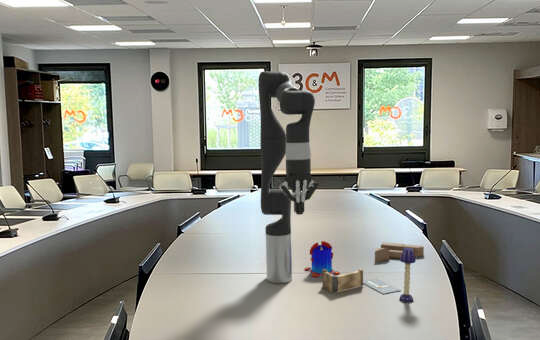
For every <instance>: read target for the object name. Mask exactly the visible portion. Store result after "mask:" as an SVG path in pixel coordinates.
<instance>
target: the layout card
mask: <svg viewBox="0 0 540 340" xmlns="http://www.w3.org/2000/svg"><path fill="white" fill-rule="evenodd" d="M363 285H365V286H367V287H369V288H371V289H372V290H375V291H376V292H378V293H380V294H382V295H386V294H391V293H392V294H394V293H397V292H401V291H402V290H401V289H400V288H397V287H396V286H393V285H391V284H390V283H388V282H385V281H383V280H381V279H379V278H377V277H373V278H368V279H363Z"/></svg>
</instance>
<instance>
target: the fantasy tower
mask: <svg viewBox="0 0 540 340" xmlns="http://www.w3.org/2000/svg"><path fill="white" fill-rule="evenodd" d="M320 243H321V244H319V242H315V243H314V244H312V245H311V247H310V249H309V255H310V256H311V258H310V260H311V267H305V268H304V269H303V271H304V270H305V271H304V272H308V273H309V272H310V273H311V274H310V273H309V274H310V275H311V278H315V279H317V278H320V277H322V270H323V269H327V272H329V273H331V274H332V275H334V276H338V275H341V272H340V271H337V270H336V271H334V269H333V263H332V262H333V261H332V260H333V257H334V252H333V251H332V250H333V246H332V245H331V243H330V242H328V241H323V240H322V241H321V242H320ZM310 269H311V270H310Z"/></svg>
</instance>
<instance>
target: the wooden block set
mask: <svg viewBox="0 0 540 340" xmlns="http://www.w3.org/2000/svg"><path fill="white" fill-rule="evenodd" d="M404 248H412V249H413V251H414V255H415V258H420V257H419V256H422V257H424V256H425V253H424V251H425V250H424V249H425V247H424V246H423V245H414V244H413V245H412V244H404V243H396V242H385V241H383V242H382V243H381V244H380V247H377V248H376V250H375V251H374V263H379V262H378V261H380V262H384V261H385V260H386V261H390V258H391V259H399V260H400V258H401V255H402V252H403V249H404ZM386 261H385V262H386Z"/></svg>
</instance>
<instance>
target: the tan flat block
mask: <svg viewBox="0 0 540 340" xmlns="http://www.w3.org/2000/svg"><path fill="white" fill-rule="evenodd" d="M332 276H335V275H333V274H331V273H329V272H327V269H323V270H322V276H321V277H322V288H324V289H326V290H327V291H328V292H330V293H334V292H333V286H332Z"/></svg>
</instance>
